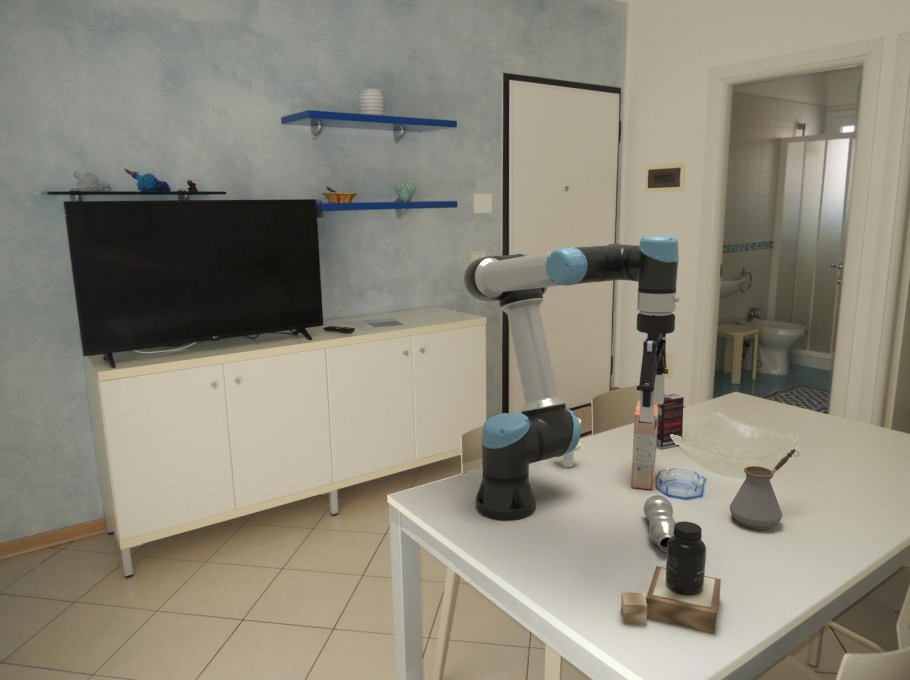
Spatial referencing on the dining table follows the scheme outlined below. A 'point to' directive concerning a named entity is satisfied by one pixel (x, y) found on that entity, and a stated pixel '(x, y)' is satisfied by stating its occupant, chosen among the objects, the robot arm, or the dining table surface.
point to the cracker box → (644, 450)
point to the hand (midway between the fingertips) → (651, 412)
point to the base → (684, 603)
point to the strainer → (570, 454)
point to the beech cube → (633, 608)
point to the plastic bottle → (659, 520)
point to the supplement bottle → (686, 559)
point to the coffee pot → (758, 497)
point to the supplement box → (669, 420)
